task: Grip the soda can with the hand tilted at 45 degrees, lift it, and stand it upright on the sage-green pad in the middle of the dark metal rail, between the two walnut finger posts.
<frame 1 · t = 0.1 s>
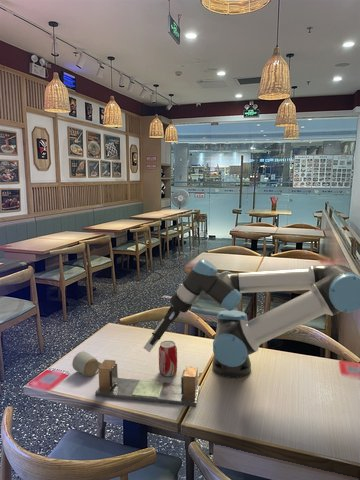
hand: (151, 341, 129), 15 cm above the table, tool tilted 35°, fingers open, 13 cm apart
soda can: (168, 373, 136), on the table
rail: (148, 392, 123), on the table
ceramic mug: (89, 371, 138), on the table
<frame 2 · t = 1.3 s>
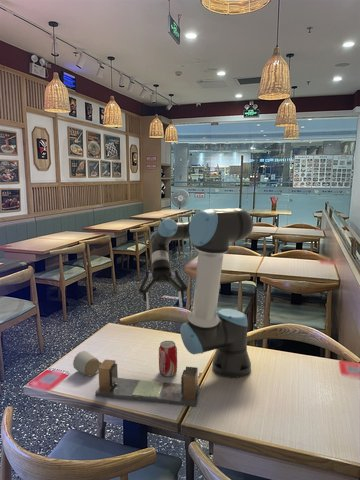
hand: (164, 307, 142), 23 cm above the table, tool tilted 45°, fingers open, 13 cm apart
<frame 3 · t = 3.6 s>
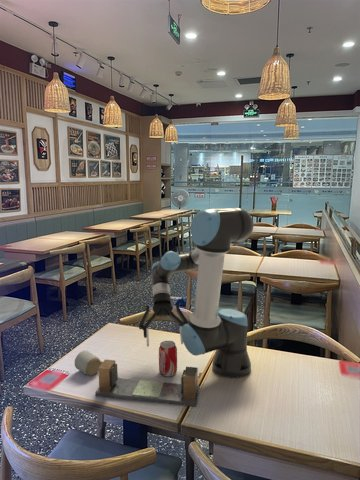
hand: (165, 344, 139), 10 cm above the table, tool tilted 45°, fingers open, 13 cm apart
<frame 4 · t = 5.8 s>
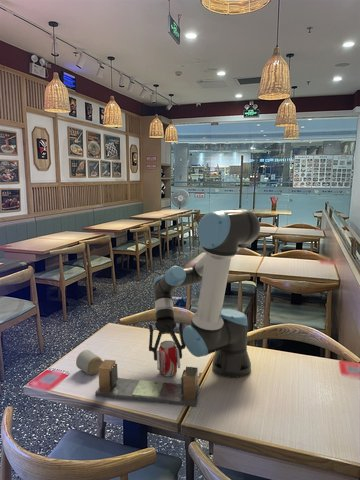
hand: (168, 367, 132), 4 cm above the table, tool tilted 45°, fingers closed on soda can, 7 cm apart
soda can: (168, 373, 136), on the table, touching gripper
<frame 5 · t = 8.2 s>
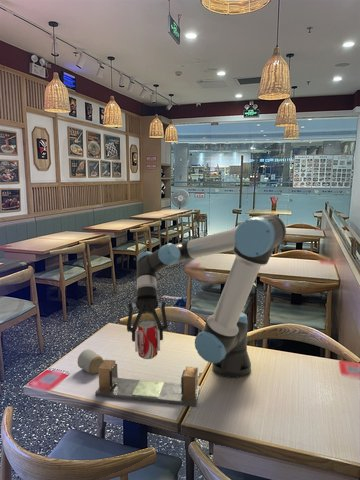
hand: (147, 349, 120), 16 cm above the table, tool tilted 45°, fingers closed on soda can, 7 cm apart
soda can: (148, 356, 124), point 12 cm above the table, touching gripper
when the fingers open (7 cm above the table, at t = 10.9 s): soda can drops 1 cm, resting on rail.
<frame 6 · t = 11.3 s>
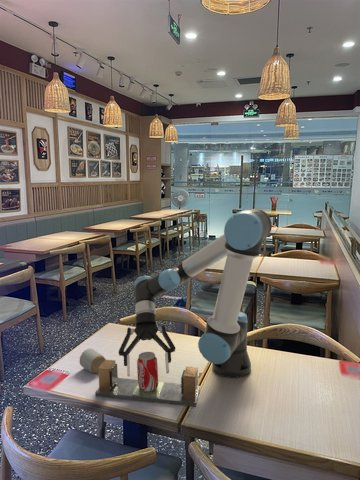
hand: (148, 373, 119), 9 cm above the table, tool tilted 45°, fingers open, 13 cm apart
soda can: (148, 388, 123), point 2 cm above the table, touching rail
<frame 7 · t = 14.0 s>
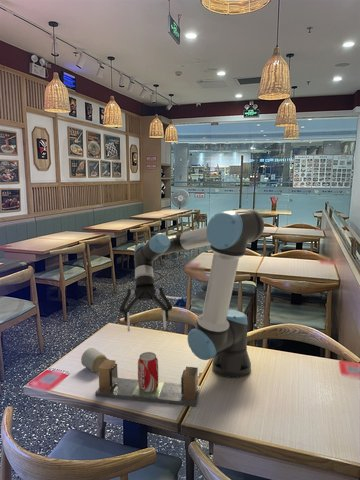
hand: (147, 329, 131), 19 cm above the table, tool tilted 45°, fingers open, 13 cm apart
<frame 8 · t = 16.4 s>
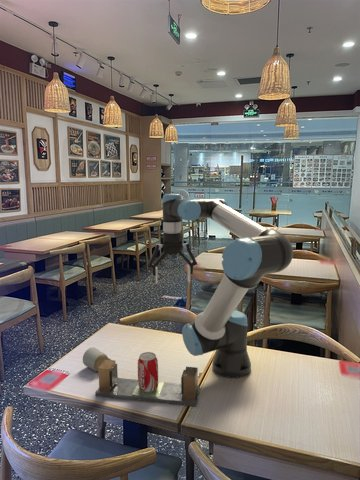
hand: (172, 282, 147), 32 cm above the table, tool pointing down, fingers open, 13 cm apart
at the end: soda can inside the target area on the rail (0.1 cm from its centre), point 1.6 cm above the rail's base; soda can tilted 0°; the gripper is holding nothing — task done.
